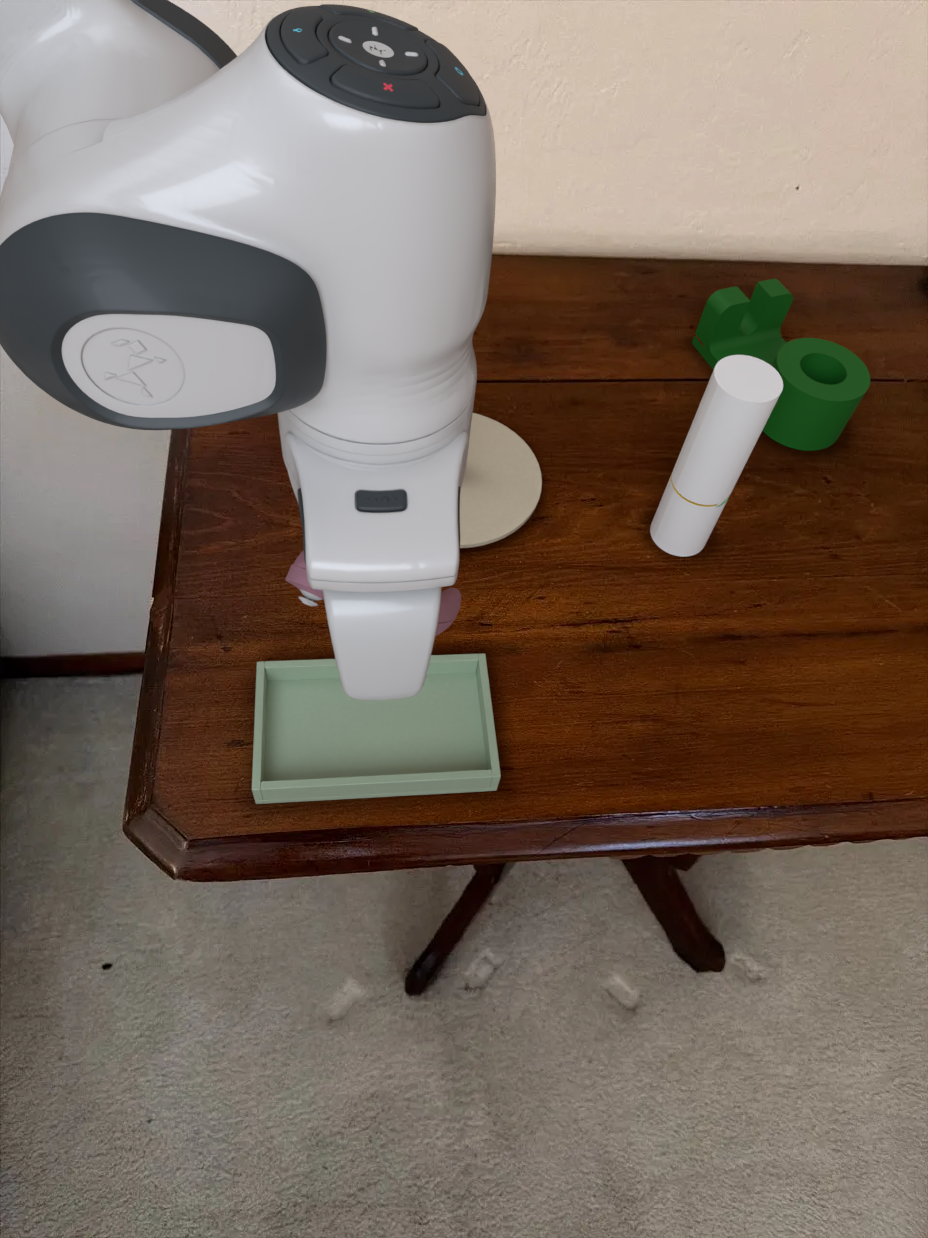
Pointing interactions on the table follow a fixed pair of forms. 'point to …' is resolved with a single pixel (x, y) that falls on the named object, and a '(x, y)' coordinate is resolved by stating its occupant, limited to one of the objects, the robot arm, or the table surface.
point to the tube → (715, 452)
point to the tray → (372, 734)
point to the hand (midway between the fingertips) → (374, 594)
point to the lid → (496, 484)
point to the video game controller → (299, 579)
